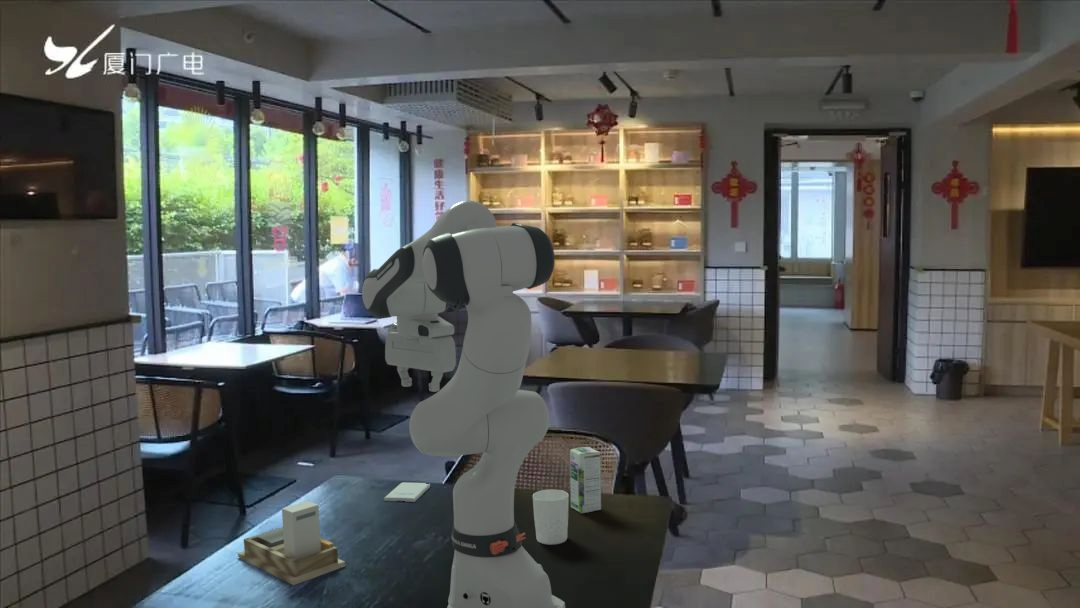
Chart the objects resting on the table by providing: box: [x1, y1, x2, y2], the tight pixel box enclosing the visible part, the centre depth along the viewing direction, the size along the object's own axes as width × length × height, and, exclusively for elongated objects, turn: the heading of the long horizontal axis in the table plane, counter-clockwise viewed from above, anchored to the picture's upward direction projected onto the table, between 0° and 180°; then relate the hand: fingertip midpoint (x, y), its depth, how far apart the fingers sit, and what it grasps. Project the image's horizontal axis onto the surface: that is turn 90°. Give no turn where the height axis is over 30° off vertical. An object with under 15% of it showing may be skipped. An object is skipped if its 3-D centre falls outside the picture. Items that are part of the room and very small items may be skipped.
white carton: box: [281, 500, 321, 560], centre depth 177 cm, size 4×6×12 cm
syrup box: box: [569, 446, 602, 514], centre depth 208 cm, size 6×6×14 cm
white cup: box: [532, 489, 570, 546], centre depth 189 cm, size 8×8×10 cm
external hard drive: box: [383, 481, 431, 503], centre depth 225 cm, size 2×8×12 cm
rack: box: [237, 526, 346, 586], centre depth 181 cm, size 22×12×5 cm, turn 47°
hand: (420, 388), depth 188 cm, fingers open, 8 cm apart
